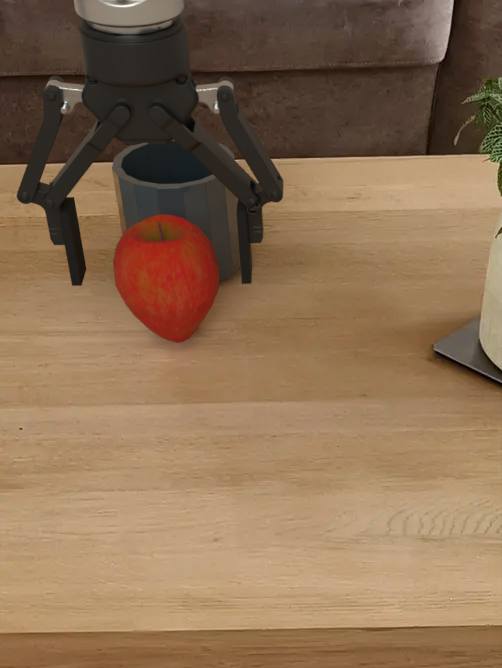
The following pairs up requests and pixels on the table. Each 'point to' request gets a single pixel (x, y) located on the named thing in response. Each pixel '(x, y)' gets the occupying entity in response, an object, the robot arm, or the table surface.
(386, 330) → the table surface
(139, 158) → the dark gray cup
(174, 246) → the apple
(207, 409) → the table surface
